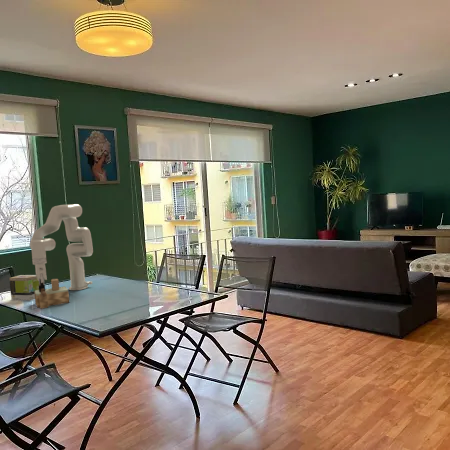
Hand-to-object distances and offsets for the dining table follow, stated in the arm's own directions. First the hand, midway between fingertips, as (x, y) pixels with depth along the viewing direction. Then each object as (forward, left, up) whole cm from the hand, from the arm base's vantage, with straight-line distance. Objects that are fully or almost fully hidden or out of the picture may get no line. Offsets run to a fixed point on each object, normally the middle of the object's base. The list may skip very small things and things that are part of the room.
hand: (42, 291), depth 263 cm
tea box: (+7, -31, -9) cm, 33 cm away
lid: (-6, -6, -3) cm, 9 cm away
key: (0, +7, -1) cm, 7 cm away
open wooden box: (-6, -4, -9) cm, 11 cm away
